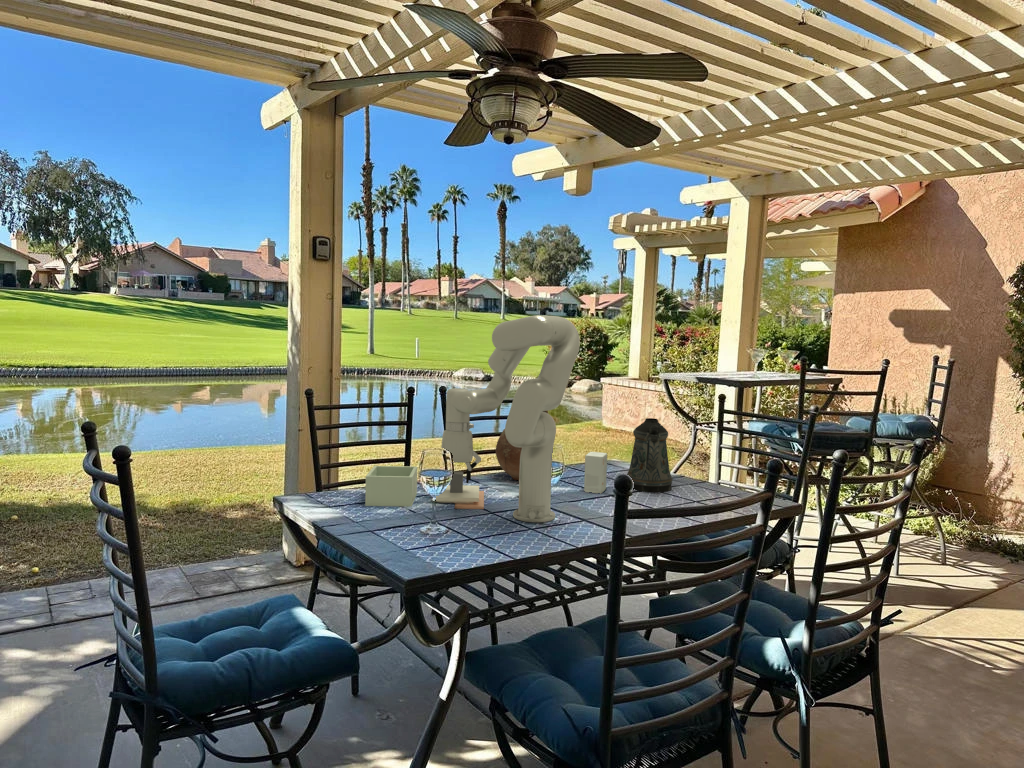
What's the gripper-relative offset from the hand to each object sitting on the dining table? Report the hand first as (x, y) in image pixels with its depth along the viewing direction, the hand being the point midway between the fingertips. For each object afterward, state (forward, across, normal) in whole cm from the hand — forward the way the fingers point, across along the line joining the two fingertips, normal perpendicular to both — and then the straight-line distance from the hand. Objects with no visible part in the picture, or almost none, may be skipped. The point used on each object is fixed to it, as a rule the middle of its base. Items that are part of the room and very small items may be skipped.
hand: (456, 481), depth 219 cm
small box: (+6, -48, -17) cm, 51 cm away
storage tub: (+6, +20, +4) cm, 21 cm away
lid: (+5, 0, 0) cm, 5 cm away
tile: (+6, 0, 0) cm, 6 cm away
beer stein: (+6, -69, -22) cm, 73 cm away
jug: (+6, -24, -34) cm, 42 cm away
